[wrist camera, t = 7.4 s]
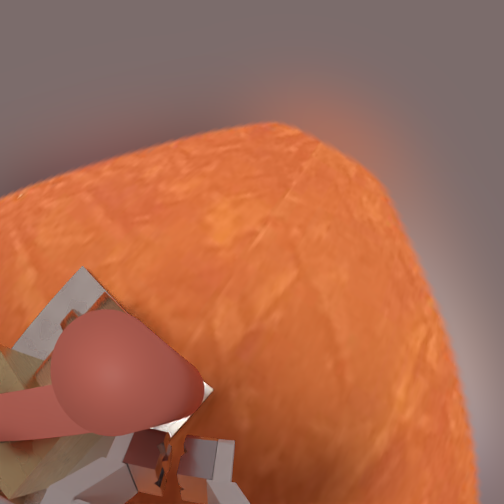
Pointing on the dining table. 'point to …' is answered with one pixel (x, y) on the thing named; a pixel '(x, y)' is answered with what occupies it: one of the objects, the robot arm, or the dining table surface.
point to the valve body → (39, 374)
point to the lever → (104, 383)
